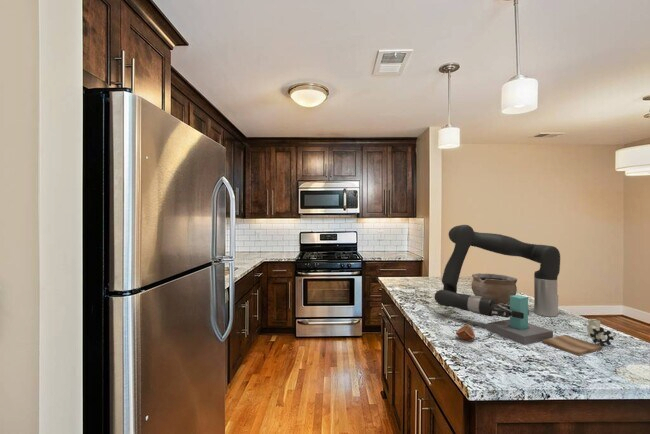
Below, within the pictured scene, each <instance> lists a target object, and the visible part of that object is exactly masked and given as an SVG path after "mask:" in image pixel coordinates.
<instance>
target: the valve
mask: <svg viewBox="0 0 650 434" xmlns="http://www.w3.org/2000/svg"><path fill="white" fill-rule="evenodd" d="M587 322H588V323H587V324H588V325H587V331H588V332H587V335H588V337H589V338H591V339H592V343H593V344H597V343H599V344H598V345H599V346H602V347H604V346H605V344H606V345H608V346H610V345H611V344H612V343H611V342H610V341H614V340H615V339H614V337H613V336H610V334H612V332H611V330H609V329H607V330H606V331H605V329H604V327H603V326H601V321H600V320H599V319H595V318H594V319H593V318H589V319H588V321H587ZM605 336H606V337H607V338H606V337H605ZM605 338H606V339H605ZM604 339H605V340H604Z"/></svg>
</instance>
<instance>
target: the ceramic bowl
mask: <svg viewBox="0 0 650 434" xmlns="http://www.w3.org/2000/svg"><path fill="white" fill-rule="evenodd" d="M471 276H472V281H471V290H472V292H473V294H474V296H481V297H487V298H492V299H494V300H495V303H496V304H499V303H500V304H503V303H506V304H510V296H513V295H517V291H518V289H517V282H518V278H516V277H512V276H508V275H504V274H497V273H480V272H478V273H472V274H471Z"/></svg>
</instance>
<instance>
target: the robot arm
mask: <svg viewBox="0 0 650 434" xmlns="http://www.w3.org/2000/svg"><path fill="white" fill-rule="evenodd" d="M448 238H449V240H450V241H451V242H452V243H454V248H453V251H452V254H451V255H450V257H449V258H448V261H447V263H446V264H445V267H444V269H443V273H442V277H441V283H442V285H443V288H442V289H439V290H437V291H436V292H435V293H434V301H435V302H436V303H437V304H439V305H440V306H444V307H446V308H448V307H451V308H456V309H459V310H462V311H466V312H471V313H473V314H478V315H480V316H481V315H482V316H486V317H502V318H506V319H508V318H509V319H510V317H512V316H513V317H516V318H521V319H523V318H524V313H521V312H516V311H513V312H512V310H510V303H507V304H506V303H503V304H500V303H499V304H496V303H495V300H494V299H492V298H487V297H481V296H475V295H472V294H467V293H459V292H458V284H459V279H460V275H461V272H462V271H461V270H462V268H463V265H464V261H465V259H466V257H467V255H468V251H469V249H470V248H471V247H475V248H478V249H482V250H483V251H489V252H492V253H496V254H499V255H504V256H508V257H509V256H510V257H520V258H523V259H526V260H530V261H532V262H535V263H538V264H539V269H538V270H536V271H534V274H533V281H534V282H533V287H534V290H533V294H534V295H533V296H534V297H533V301H534V302H533V303H534V304H533V312H534V313H535V314H536V315H539V316H544V317H552V318H553V317H554V318H555V317H558V315H559V294H558V277H559V274H560V269H561V253H560V250H559V249H558V248H557V247H556V246H553V245H547V244H536V243H535V244H534V243H528V242H523V241H521V240H519V239H517V238H515V237H512V236H509V235H503V234H500V233H492V232H491V233H490V232H480V231H479V232H477V231H474V229H473V228H472V226H471V225H468V224H461V225H455V226H453V227H452V228H451V229H449V231H448ZM529 315H530V311H529V309H528V316H529Z"/></svg>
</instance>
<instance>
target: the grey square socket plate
mask: <svg viewBox="0 0 650 434" xmlns="http://www.w3.org/2000/svg"><path fill="white" fill-rule="evenodd" d="M486 331H487V332H490V333H491V334H492V333H493V334H495V335H498V336H500V337H503V338H506V339H508V340H511V341H513V342H515V343H518V344H521V345H524V346H526V345H530V344H531V345H532V344H535V343H538V342H542V340H544V339H549V338H554V330H551V329H548V328H544V327H542V326H540V325H535V324H532V323H529V322H528V329H524V330H519V329H516V328H513V327H510V318H509V319H502V320H498V321H497V320H496V321H492V322H487V323H486Z"/></svg>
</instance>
